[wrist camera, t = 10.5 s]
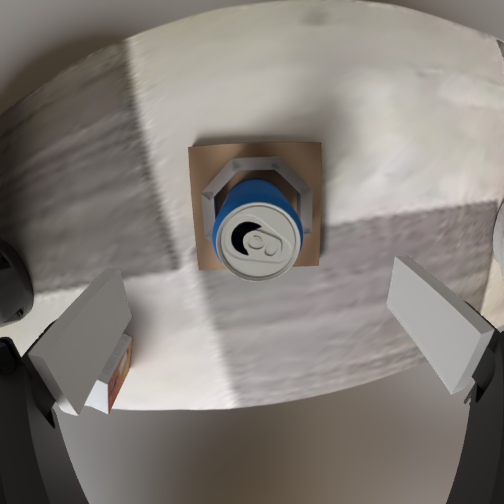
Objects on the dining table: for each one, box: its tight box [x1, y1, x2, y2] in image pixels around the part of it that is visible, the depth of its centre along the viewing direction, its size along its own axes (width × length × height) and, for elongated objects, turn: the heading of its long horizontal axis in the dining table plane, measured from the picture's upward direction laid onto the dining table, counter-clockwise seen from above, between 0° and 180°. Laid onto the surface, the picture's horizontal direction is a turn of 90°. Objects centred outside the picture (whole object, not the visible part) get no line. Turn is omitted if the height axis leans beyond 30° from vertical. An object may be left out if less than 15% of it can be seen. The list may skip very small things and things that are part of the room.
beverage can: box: [212, 178, 303, 282], centre depth 24 cm, size 6×6×12 cm
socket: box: [188, 142, 322, 270], centre depth 29 cm, size 14×14×4 cm
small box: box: [85, 334, 133, 414], centre depth 34 cm, size 8×6×10 cm
